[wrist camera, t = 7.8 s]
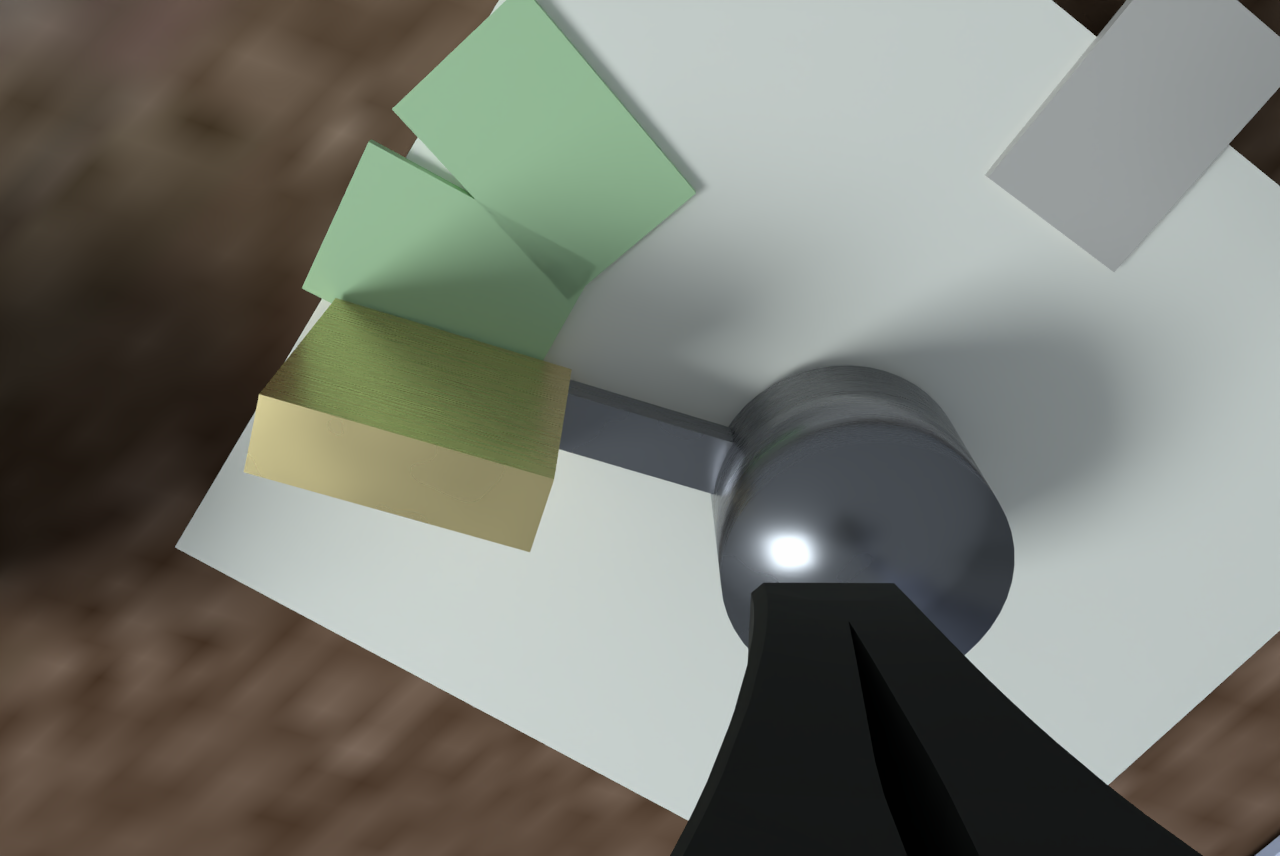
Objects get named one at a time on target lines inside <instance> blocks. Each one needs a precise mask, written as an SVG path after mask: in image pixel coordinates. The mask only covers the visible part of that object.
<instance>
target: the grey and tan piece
mask: <svg viewBox="0 0 1280 856" xmlns="http://www.w3.org/2000/svg"><path fill="white" fill-rule="evenodd" d="M571 371H572V369H569V368H566V367H562V366H559V365H556V364H552V363H549V362H546V361H543V360H539V359H536V358H533V357H529V356H526V355H523V354H519V353H516V352H513V351H509V350H506V349H503V348H500V347H496V346H493V345H490V344H486V343H483V342H480V341H476V340H473V339H470V338H466V337H463V336H460V335H457V334H453V333H450V332H447V331H443V330H440V329H437V328H433V327H430V326H427V325H423V324H420V323H417V322H414V321H410V320H407V319H404V318H400V317H397V316H394V315H390V314H387V313H384V312H380V311H377V310H374V309H371V308H367V307H364V306H361V305H357V304H354V303H351V302H347V301H344V300H341V299H337V298H335V300H334V301H333V302H332V303H331V305H330V306H329V307H328V308H327V310H326V311H325V312H324V313H323V315H322V316H321V317H320V318H319V320H318V321H317V322H316V323H315V325H314V326H313V327H312V328H311V330H310V331H309V332H308V334H307V335H306V336H305V337H304V339H303V340H302V341H301V342H300V344H299V345H298V346H297V347H296V349H295V350H294V351H293V352H292V354H291V355H290V356H289V357H288V359H287V360H286V361H285V362H284V364H283V365H282V366H281V367H280V369H279V370H278V371H277V372H276V374H275V375H274V376H273V377H272V379H271V380H270V381H269V382H268V384H267V385H266V386H265V388H264V389H263V390H262V391H261V393H260V394H259V398H258V403H257V408H256V413H255V418H254V423H253V428H252V433H251V438H250V443H249V448H248V453H247V458H246V463H245V468H244V473H248V474H252V475H255V476H259V477H262V478H266V479H270V480H273V481H277V482H280V483H284V484H287V485H291V486H295V487H298V488H302V489H305V490H309V491H312V492H316V493H320V494H323V495H327V496H330V497H334V498H337V499H341V500H345V501H348V502H352V503H355V504H359V505H363V506H366V507H370V508H373V509H377V510H380V511H384V512H388V513H391V514H395V515H398V516H402V517H405V518H409V519H413V520H416V521H420V522H423V523H427V524H430V525H434V526H438V527H441V528H445V529H448V530H452V531H455V532H459V533H463V534H466V535H470V536H473V537H477V538H481V539H484V540H488V541H491V542H495V543H498V544H502V545H506V546H509V547H513V548H516V549H520V550H523V551H527V552H530V551H531V548H532V545H533V542H534V539H535V536H536V533H537V530H538V527H539V524H540V521H541V518H542V515H543V512H544V509H545V506H546V503H547V500H548V497H549V494H550V491H551V488H552V485H553V481H554V477H555V471H556V465H557V459H558V452H559V449H560V450H563V451H567V452H570V453H574V454H577V455H580V456H584V457H587V458H591V459H594V460H598V461H601V462H604V463H608V464H611V465H615V466H618V467H621V468H625V469H628V470H632V471H635V472H639V473H642V474H645V475H649V476H652V477H656V478H659V479H662V480H666V481H669V482H673V483H676V484H680V485H683V486H686V487H690V488H693V489H697V490H700V491H703V492H707V493H710V494H711V501H712V510H713V519H714V528H715V536H716V545H717V554H718V563H719V572H720V581H721V589H722V596H723V602H724V605H725V608H726V612H727V615H728V617H729V619H730V622H731V624H732V626H733V628H734V630H735V631H736V633H737V634H738V636H739V637H740V639H741V640H742V642H743V643H744V644H745V645H746V647H747V648H748V644H749V623H750V602H751V593H752V592H753V591H754V590H755V589H756V588H758V587H759V586H760V585H761V584H763V583H894V584H895V585H896V586H897V587H898V588H899V589H900V590H901V591H902V592H903V593H904V594H905V595H906V596H907V597H908V598H909V599H910V600H911V601H912V602H913V603H914V604H915V605H916V606H917V607H918V608H919V609H920V610H921V611H922V612H923V613H924V614H925V615H926V616H927V617H928V618H929V619H930V621H931V622H932V623H933V624H934V625H935V626H936V627H937V628H938V629H939V630H940V631H941V632H942V633H943V634H944V635H945V636H946V637H947V638H948V639H949V640H950V641H951V642H952V643H953V644H954V645H955V646H956V647H957V648H958V649H959V650H960V651H961V652H962V653H963V654H964V655H965V654H967V653H968V652H969V651H970V650H971V649H972V648H973V647H974V646H975V645H976V644H977V643H978V642H979V641H980V640H981V639H982V638H983V636H984V635H985V634H986V633H987V632H988V630H989V629H990V628H991V627H992V625H993V623H994V622H995V620H996V619H997V617H998V616H999V614H1000V612H1001V610H1002V608H1003V606H1004V604H1005V601H1006V599H1007V597H1008V593H1009V590H1010V587H1011V584H1012V579H1013V572H1014V544H1013V537H1012V532H1011V529H1010V526H1009V523H1008V520H1007V517H1006V515H1005V513H1004V511H1003V509H1002V507H1001V506H1000V504H999V502H998V500H997V498H996V497H995V495H994V493H993V492H992V490H991V488H990V487H989V485H988V483H987V482H986V480H985V478H984V477H983V475H982V473H981V472H980V470H979V468H978V467H977V465H976V463H975V462H974V460H973V458H972V457H971V455H970V453H969V452H968V450H967V448H966V447H965V445H964V443H963V442H962V440H961V438H960V437H959V435H958V433H957V431H956V430H955V428H954V426H953V425H952V423H951V421H950V420H949V418H948V417H947V415H946V414H945V413H944V411H943V410H942V409H941V407H940V406H939V405H938V404H937V403H936V402H935V401H934V400H933V399H932V398H931V397H930V396H929V395H928V394H927V393H926V392H924V391H923V390H922V389H920V388H919V387H918V386H916V385H915V384H913V383H911V382H909V381H907V380H906V379H904V378H902V377H899V376H897V375H894V374H892V373H889V372H887V371H883V370H878V369H874V368H870V367H862V366H853V365H849V366H829V367H821V368H816V369H812V370H808V371H804V372H801V373H798V374H795V375H793V376H790V377H788V378H785V379H783V380H781V381H780V382H778V383H776V384H774V385H772V386H770V387H769V388H767V389H766V390H764V391H763V392H761V393H760V394H759V395H757V396H756V397H755V398H754V399H752V400H751V401H750V402H749V403H748V404H747V405H746V406H745V407H744V408H743V409H742V410H741V411H740V412H739V413H738V415H737V416H736V417H735V418H734V419H733V421H732V422H731V424H730V425H729V427H727V426H723V425H720V424H717V423H713V422H710V421H707V420H703V419H700V418H697V417H693V416H690V415H687V414H683V413H680V412H677V411H673V410H670V409H667V408H663V407H660V406H657V405H654V404H650V403H647V402H644V401H640V400H637V399H634V398H630V397H627V396H624V395H620V394H617V393H614V392H610V391H607V390H604V389H600V388H597V387H594V386H590V385H587V384H584V383H580V382H577V381H574V380H570V377H571Z"/></svg>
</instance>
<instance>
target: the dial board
mask: <svg viewBox="0 0 1280 856" xmlns="http://www.w3.org/2000/svg"><path fill="white" fill-rule="evenodd" d="M1279 87H1280V37H1279V36H1278V35H1277V34H1276V33H1274V32H1273V31H1272V30H1271V29H1270V28H1269V27H1268V26H1266V25H1265V24H1264V23H1263V22H1262V21H1261V20H1259V19H1258V18H1257V17H1256V16H1255V15H1254V14H1252V13H1251V12H1250V11H1249V10H1248V9H1247V8H1245V7H1244V6H1243V5H1242V4H1241V3H1240V2H1238V1H1237V0H1126V1H1125V3H1124V4H1123V5H1122V6H1121V8H1120V9H1119V10H1118V11H1117V13H1116V14H1115V15H1114V16H1113V17H1112V19H1111V20H1110V21H1109V22H1108V24H1107V25H1106V26H1105V27H1104V29H1103V30H1102V31H1101V32H1100V33H1099V35H1098V36H1097V37H1096V36H1095V35H1094V34H1093V33H1091V32H1090V31H1089V30H1088V29H1086V28H1085V27H1084V26H1083V25H1082V24H1080V23H1079V22H1078V21H1077V20H1075V19H1074V18H1073V17H1072V16H1071V15H1069V14H1068V13H1067V12H1066V11H1064V10H1063V9H1062V8H1061V7H1060V6H1058V5H1057V4H1056V3H1055V2H1053V1H1052V0H499V1H498V3H497V5H496V6H495V8H494V10H493V11H492V13H491V15H490V16H489V17H488V18H487V19H486V20H485V21H484V22H483V23H482V24H481V25H480V26H479V27H478V28H477V29H476V30H474V31H473V32H472V33H471V34H470V35H469V36H468V37H467V38H466V39H465V40H464V41H463V42H462V43H461V44H460V45H459V46H458V47H457V48H456V49H455V50H454V51H452V52H451V53H450V54H449V55H448V56H447V57H446V58H445V59H444V60H443V61H442V62H441V63H440V64H439V65H438V66H437V67H436V68H435V69H434V70H433V71H432V72H430V73H429V74H428V75H427V76H426V77H425V78H424V79H423V80H422V81H421V82H420V83H419V84H418V85H417V86H416V87H415V88H414V89H413V90H412V91H411V92H410V93H408V94H407V95H406V96H405V97H404V98H403V99H402V100H401V101H400V102H399V103H398V104H397V105H396V106H395V107H394V108H393V109H392V110H393V111H394V112H395V113H396V114H397V115H398V116H399V117H400V118H401V119H402V121H403V122H404V123H405V124H406V125H407V126H408V127H409V128H410V129H411V130H412V131H413V132H414V134H415V135H416V136H417V137H418V138H417V140H416V141H415V143H414V145H413V146H412V148H411V150H410V151H409V153H408V155H407V156H406V158H405V157H403V156H401V155H399V154H397V153H396V152H394V151H392V150H390V149H388V148H386V147H385V146H383V145H381V144H379V143H377V142H375V141H374V140H372V139H371V140H370V141H369V142H368V144H367V146H366V149H365V151H364V153H363V155H362V157H361V160H360V162H359V164H358V166H357V168H356V171H355V173H354V175H353V177H352V179H351V181H350V184H349V186H348V188H347V190H346V192H345V195H344V197H343V199H342V201H341V203H340V206H339V208H338V210H337V212H336V214H335V217H334V219H333V221H332V223H331V225H330V228H329V230H328V232H327V234H326V236H325V238H324V241H323V243H322V245H321V247H320V249H319V252H318V254H317V256H316V258H315V260H314V263H313V265H312V267H311V269H310V271H309V274H308V276H307V278H306V280H305V282H304V285H303V287H302V289H304V290H306V291H308V292H310V293H312V294H314V295H316V296H318V297H320V298H322V300H321V302H320V303H319V305H318V307H317V308H316V310H315V312H314V313H313V315H312V317H311V318H310V320H309V322H308V323H307V325H306V327H305V329H304V330H303V332H302V334H301V335H300V337H299V339H298V340H297V342H296V344H295V345H294V347H293V349H292V350H291V352H290V354H289V355H288V357H289V356H290V355H291V354H292V352H293V351H294V350H295V349H296V347H297V346H298V345H299V344H300V342H301V341H302V340H303V339H304V337H305V336H306V335H307V334H308V332H309V331H310V330H311V328H312V327H313V326H314V325H315V323H316V322H317V321H318V320H319V318H320V317H321V316H322V315H323V313H324V312H325V311H326V310H327V308H328V307H329V306H330V305H331V303H332V302H333V301H334V300H335V298H337V299H341V300H344V301H347V302H351V303H354V304H357V305H361V306H364V307H367V308H371V309H374V310H377V311H380V312H384V313H387V314H390V315H394V316H397V317H400V318H404V319H407V320H410V321H414V322H417V323H420V324H423V325H427V326H430V327H433V328H437V329H440V330H443V331H447V332H450V333H453V334H457V335H460V336H463V337H466V338H470V339H473V340H476V341H480V342H483V343H486V344H490V345H493V346H496V347H500V348H503V349H506V350H509V351H513V352H516V353H519V354H523V355H526V356H529V357H533V358H536V359H539V360H543V361H546V362H549V363H552V364H556V365H559V366H562V367H566V368H569V369H572V371H571V377H570V380H574V381H577V382H580V383H584V384H587V385H590V386H594V387H597V388H600V389H604V390H607V391H610V392H614V393H617V394H620V395H624V396H627V397H630V398H634V399H637V400H640V401H644V402H647V403H650V404H654V405H657V406H660V407H663V408H667V409H670V410H673V411H677V412H680V413H683V414H687V415H690V416H693V417H697V418H700V419H703V420H707V421H710V422H713V423H717V424H720V425H723V426H727V427H729V425H730V424H731V422H732V421H733V419H734V418H735V417H736V416H737V415H738V413H739V412H740V411H741V410H742V409H743V408H744V407H745V406H746V405H747V404H748V403H749V402H750V401H751V400H752V399H754V398H755V397H756V396H757V395H759V394H760V393H761V392H763V391H764V390H766V389H767V388H769V387H770V386H772V385H774V384H776V383H778V382H780V381H781V380H783V379H785V378H788V377H790V376H793V375H795V374H798V373H801V372H804V371H808V370H812V369H816V368H821V367H829V366H849V365H853V366H862V367H870V368H874V369H878V370H883V371H887V372H889V373H892V374H894V375H897V376H899V377H902V378H904V379H906V380H907V381H909V382H911V383H913V384H915V385H916V386H918V387H919V388H920V389H922V390H923V391H924V392H926V393H927V394H928V395H929V396H930V397H931V398H932V399H933V400H934V401H935V402H936V403H937V404H938V405H939V406H940V407H941V409H942V410H943V411H944V413H945V414H946V415H947V417H948V418H949V420H950V421H951V423H952V425H953V426H954V428H955V430H956V431H957V433H958V435H959V437H960V438H961V440H962V442H963V443H964V445H965V447H966V448H967V450H968V452H969V453H970V455H971V457H972V458H973V460H974V462H975V463H976V465H977V467H978V468H979V470H980V472H981V473H982V475H983V477H984V478H985V480H986V482H987V483H988V485H989V487H990V488H991V490H992V492H993V493H994V495H995V497H996V498H997V500H998V502H999V504H1000V506H1001V507H1002V509H1003V511H1004V513H1005V515H1006V517H1007V520H1008V523H1009V526H1010V529H1011V532H1012V537H1013V544H1014V572H1013V579H1012V584H1011V587H1010V590H1009V593H1008V597H1007V599H1006V601H1005V604H1004V606H1003V608H1002V610H1001V612H1000V614H999V616H998V617H997V619H996V620H995V622H994V623H993V625H992V627H991V628H990V629H989V630H988V632H987V633H986V634H985V635H984V636H983V638H982V639H981V640H980V641H979V642H978V643H977V644H976V645H975V646H974V647H973V648H972V649H971V650H970V651H969V652H968V653H967V654H965V656H966V657H967V659H968V660H969V661H970V662H971V663H972V664H973V665H974V666H975V667H976V668H977V669H978V670H979V671H980V672H981V673H983V674H984V675H985V676H986V677H987V678H988V679H989V680H990V681H991V682H992V683H993V684H994V685H995V686H996V687H997V688H998V689H999V690H1000V691H1001V692H1002V693H1003V694H1004V695H1005V696H1006V697H1007V698H1009V699H1010V700H1011V701H1012V702H1013V703H1014V704H1015V705H1016V706H1017V707H1018V708H1019V709H1020V710H1021V711H1022V712H1024V713H1025V714H1026V715H1027V716H1028V717H1029V718H1030V719H1031V720H1032V721H1033V722H1035V723H1036V724H1037V725H1038V726H1039V727H1040V728H1041V729H1042V730H1043V731H1045V732H1046V733H1047V734H1048V735H1049V736H1050V737H1051V738H1052V739H1054V740H1055V741H1056V742H1057V743H1058V744H1059V745H1060V746H1062V747H1063V748H1064V749H1065V750H1066V751H1068V752H1069V753H1070V754H1071V755H1072V756H1074V757H1075V758H1076V759H1077V760H1078V761H1080V762H1081V763H1082V764H1083V765H1084V766H1086V767H1087V768H1088V769H1089V770H1090V771H1092V772H1093V773H1094V774H1095V775H1096V776H1097V777H1099V778H1100V779H1101V780H1102V781H1103V782H1105V783H1106V784H1107V785H1109V784H1110V783H1111V782H1112V781H1113V780H1114V779H1115V778H1116V777H1117V776H1119V775H1120V774H1121V773H1122V772H1123V771H1124V770H1125V769H1126V768H1127V767H1129V766H1130V765H1131V764H1132V763H1133V762H1134V761H1135V760H1136V759H1137V758H1139V757H1140V756H1141V755H1142V754H1143V753H1144V752H1145V751H1146V750H1147V749H1149V748H1150V747H1151V746H1152V745H1153V744H1154V743H1155V742H1156V741H1157V740H1159V739H1160V738H1161V737H1162V736H1163V735H1164V734H1165V733H1166V732H1167V731H1169V730H1170V729H1171V728H1172V727H1173V726H1174V725H1175V724H1176V723H1177V722H1179V721H1180V720H1181V719H1182V718H1183V717H1184V716H1185V715H1186V714H1187V713H1188V712H1190V711H1191V710H1192V709H1193V708H1194V707H1195V706H1196V705H1197V704H1198V703H1200V702H1201V701H1202V700H1203V699H1204V698H1205V697H1206V696H1207V695H1208V694H1210V693H1211V692H1212V691H1213V690H1214V689H1215V688H1216V687H1217V686H1218V685H1220V684H1221V683H1222V682H1223V681H1224V680H1225V679H1226V678H1227V677H1228V676H1230V675H1231V674H1232V673H1233V672H1234V671H1235V670H1236V669H1237V668H1238V667H1240V666H1241V665H1242V664H1243V663H1244V662H1245V661H1246V660H1247V659H1248V658H1250V657H1251V656H1252V655H1253V654H1254V653H1255V652H1256V651H1257V650H1258V649H1260V648H1261V647H1262V646H1263V645H1264V644H1265V643H1266V642H1267V641H1268V640H1270V639H1271V638H1272V637H1273V636H1274V635H1275V634H1276V633H1277V632H1278V631H1280V186H1279V185H1278V184H1276V183H1275V182H1274V181H1273V180H1272V179H1270V178H1269V177H1268V176H1267V175H1265V174H1264V173H1263V172H1262V171H1261V170H1259V169H1258V168H1257V167H1256V166H1254V165H1253V164H1252V163H1251V162H1250V161H1248V160H1247V159H1246V158H1245V157H1243V156H1242V155H1241V154H1240V153H1238V152H1237V151H1236V150H1235V149H1234V148H1232V147H1231V146H1230V145H1229V143H1230V142H1231V141H1232V140H1233V139H1234V138H1235V137H1236V135H1237V134H1238V133H1239V132H1240V131H1241V130H1242V129H1243V128H1244V126H1245V125H1246V124H1247V123H1248V122H1249V121H1250V120H1251V119H1252V118H1253V116H1254V115H1255V114H1256V113H1257V112H1258V111H1259V110H1260V109H1261V107H1262V106H1263V105H1264V104H1265V103H1266V102H1267V101H1268V100H1269V98H1270V97H1271V96H1272V95H1273V94H1274V93H1275V92H1276V91H1277V90H1278V88H1279ZM288 357H287V359H288ZM287 359H286V360H287ZM255 413H256V411H255ZM255 413H254V415H253V416H252V418H251V420H250V421H249V423H248V425H247V426H246V428H245V430H244V431H243V433H242V435H241V436H240V438H239V440H238V442H237V443H236V445H235V447H234V448H233V450H232V452H231V453H230V455H229V457H228V458H227V460H226V462H225V463H224V465H223V467H222V469H221V470H220V472H219V474H218V475H217V477H216V479H215V480H214V482H213V484H212V485H211V487H210V489H209V490H208V492H207V494H206V495H205V497H204V499H203V501H202V502H201V504H200V506H199V507H198V509H197V511H196V512H195V514H194V516H193V517H192V519H191V521H190V522H189V524H188V526H187V528H186V529H185V531H184V533H183V534H182V536H181V538H180V539H179V541H178V543H177V544H176V546H175V548H177V549H179V550H181V551H183V552H185V553H187V554H188V555H190V556H192V557H194V558H196V559H198V560H200V561H202V562H203V563H205V564H207V565H209V566H211V567H213V568H215V569H217V570H218V571H220V572H222V573H224V574H226V575H228V576H230V577H232V578H234V579H235V580H237V581H239V582H241V583H243V584H245V585H247V586H249V587H250V588H252V589H254V590H256V591H258V592H260V593H262V594H264V595H265V596H267V597H269V598H271V599H273V600H275V601H277V602H279V603H280V604H282V605H284V606H286V607H288V608H290V609H292V610H294V611H296V612H297V613H299V614H301V615H303V616H305V617H307V618H309V619H311V620H312V621H314V622H316V623H318V624H320V625H322V626H324V627H326V628H327V629H329V630H331V631H333V632H335V633H337V634H339V635H341V636H343V637H344V638H346V639H348V640H350V641H352V642H354V643H356V644H358V645H359V646H361V647H363V648H365V649H367V650H369V651H371V652H373V653H374V654H376V655H378V656H380V657H382V658H384V659H386V660H388V661H389V662H391V663H393V664H395V665H397V666H399V667H401V668H403V669H405V670H406V671H408V672H410V673H412V674H414V675H416V676H418V677H420V678H421V679H423V680H425V681H427V682H429V683H431V684H433V685H435V686H436V687H438V688H440V689H442V690H444V691H446V692H448V693H450V694H452V695H453V696H455V697H457V698H459V699H461V700H463V701H465V702H467V703H468V704H470V705H472V706H474V707H476V708H478V709H480V710H482V711H483V712H485V713H487V714H489V715H491V716H493V717H495V718H497V719H499V720H500V721H502V722H504V723H506V724H508V725H510V726H512V727H514V728H515V729H517V730H519V731H521V732H523V733H525V734H527V735H529V736H530V737H532V738H534V739H536V740H538V741H540V742H542V743H544V744H545V745H547V746H549V747H551V748H553V749H555V750H557V751H559V752H561V753H562V754H564V755H566V756H568V757H570V758H572V759H574V760H576V761H577V762H579V763H581V764H583V765H585V766H587V767H589V768H591V769H592V770H594V771H596V772H598V773H600V774H602V775H604V776H606V777H608V778H609V779H611V780H613V781H615V782H617V783H619V784H621V785H623V786H624V787H626V788H628V789H630V790H632V791H634V792H636V793H638V794H639V795H641V796H643V797H645V798H647V799H649V800H651V801H653V802H655V803H656V804H658V805H660V806H662V807H664V808H666V809H668V810H670V811H671V812H673V813H675V814H677V815H679V816H681V817H683V818H685V819H686V820H688V821H689V819H690V817H691V815H692V813H693V811H694V809H695V806H696V804H697V802H698V800H699V798H700V796H701V793H702V791H703V789H704V787H705V785H706V782H707V780H708V778H709V775H710V773H711V770H712V768H713V765H714V763H715V760H716V758H717V755H718V753H719V750H720V747H721V745H722V742H723V740H724V737H725V735H726V732H727V730H728V727H729V725H730V722H731V719H732V716H733V713H734V710H735V706H736V703H737V699H738V696H739V692H740V689H741V685H742V682H743V678H744V675H745V671H746V668H747V664H748V648H747V647H746V645H745V644H744V643H743V642H742V640H741V639H740V637H739V636H738V634H737V633H736V631H735V630H734V628H733V626H732V624H731V622H730V619H729V617H728V615H727V612H726V608H725V605H724V602H723V596H722V589H721V581H720V572H719V563H718V554H717V545H716V536H715V528H714V519H713V510H712V501H711V494H710V493H707V492H703V491H700V490H697V489H693V488H690V487H686V486H683V485H680V484H676V483H673V482H669V481H666V480H662V479H659V478H656V477H652V476H649V475H645V474H642V473H639V472H635V471H632V470H628V469H625V468H621V467H618V466H615V465H611V464H608V463H604V462H601V461H598V460H594V459H591V458H587V457H584V456H580V455H577V454H574V453H570V452H567V451H563V450H560V449H559V452H558V459H557V465H556V471H555V477H554V481H553V485H552V488H551V491H550V494H549V497H548V500H547V503H546V506H545V509H544V512H543V515H542V518H541V521H540V524H539V527H538V530H537V533H536V536H535V539H534V542H533V545H532V548H531V551H530V552H527V551H523V550H520V549H516V548H513V547H509V546H506V545H502V544H498V543H495V542H491V541H488V540H484V539H481V538H477V537H473V536H470V535H466V534H463V533H459V532H455V531H452V530H448V529H445V528H441V527H438V526H434V525H430V524H427V523H423V522H420V521H416V520H413V519H409V518H405V517H402V516H398V515H395V514H391V513H388V512H384V511H380V510H377V509H373V508H370V507H366V506H363V505H359V504H355V503H352V502H348V501H345V500H341V499H337V498H334V497H330V496H327V495H323V494H320V493H316V492H312V491H309V490H305V489H302V488H298V487H295V486H291V485H287V484H284V483H280V482H277V481H273V480H270V479H266V478H262V477H259V476H255V475H252V474H248V473H244V468H245V463H246V458H247V453H248V448H249V443H250V438H251V433H252V428H253V423H254V418H255Z"/></svg>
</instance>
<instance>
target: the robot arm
mask: <svg viewBox="0 0 1280 856" xmlns="http://www.w3.org/2000/svg"><path fill="white" fill-rule="evenodd" d="M670 856H1202V855H1201V854H1200V853H1198V852H1197V851H1195V850H1194V849H1193V848H1191V847H1190V846H1188V845H1187V844H1186V843H1184V842H1183V841H1182V840H1180V839H1179V838H1177V837H1176V836H1175V835H1173V834H1172V833H1170V832H1169V831H1168V830H1166V829H1165V828H1163V827H1162V826H1161V825H1159V824H1158V823H1156V822H1155V821H1154V820H1152V819H1151V818H1150V817H1148V816H1147V815H1145V814H1144V813H1143V812H1142V811H1140V810H1139V809H1138V808H1136V807H1135V806H1134V805H1132V804H1131V803H1130V802H1129V801H1127V800H1126V799H1125V798H1123V797H1122V796H1121V795H1120V794H1118V793H1117V792H1116V791H1114V790H1113V789H1112V788H1111V787H1109V786H1108V785H1107V784H1106V783H1105V782H1103V781H1102V780H1101V779H1100V778H1099V777H1097V776H1096V775H1095V774H1094V773H1093V772H1092V771H1090V770H1089V769H1088V768H1087V767H1086V766H1084V765H1083V764H1082V763H1081V762H1080V761H1078V760H1077V759H1076V758H1075V757H1074V756H1072V755H1071V754H1070V753H1069V752H1068V751H1066V750H1065V749H1064V748H1063V747H1062V746H1060V745H1059V744H1058V743H1057V742H1056V741H1055V740H1054V739H1052V738H1051V737H1050V736H1049V735H1048V734H1047V733H1046V732H1045V731H1043V730H1042V729H1041V728H1040V727H1039V726H1038V725H1037V724H1036V723H1035V722H1033V721H1032V720H1031V719H1030V718H1029V717H1028V716H1027V715H1026V714H1025V713H1024V712H1022V711H1021V710H1020V709H1019V708H1018V707H1017V706H1016V705H1015V704H1014V703H1013V702H1012V701H1011V700H1010V699H1009V698H1007V697H1006V696H1005V695H1004V694H1003V693H1002V692H1001V691H1000V690H999V689H998V688H997V687H996V686H995V685H994V684H993V683H992V682H991V681H990V680H989V679H988V678H987V677H986V676H985V675H984V674H983V673H981V672H980V671H979V670H978V669H977V668H976V667H975V666H974V665H973V664H972V663H971V662H970V661H969V660H968V659H967V657H966V656H965V655H964V654H963V653H962V652H961V651H960V650H959V649H958V648H957V647H956V646H955V645H954V644H953V643H952V642H951V641H950V640H949V639H948V638H947V637H946V636H945V635H944V634H943V633H942V632H941V631H940V630H939V629H938V628H937V627H936V626H935V625H934V624H933V623H932V622H931V621H930V619H929V618H928V617H927V616H926V615H925V614H924V613H923V612H922V611H921V610H920V609H919V608H918V607H917V606H916V605H915V604H914V603H913V602H912V601H911V600H910V599H909V598H908V597H907V596H906V595H905V594H904V593H903V592H902V591H901V590H900V589H899V588H898V587H897V586H896V585H895V584H894V583H763V584H761V585H760V586H759V587H758V588H756V589H755V590H754V591H753V592H752V593H751V602H750V623H749V644H748V664H747V668H746V671H745V675H744V678H743V682H742V685H741V689H740V692H739V696H738V699H737V703H736V706H735V710H734V713H733V716H732V719H731V722H730V725H729V727H728V730H727V732H726V735H725V737H724V740H723V742H722V745H721V747H720V750H719V753H718V755H717V758H716V760H715V763H714V765H713V768H712V770H711V773H710V775H709V778H708V780H707V782H706V785H705V787H704V789H703V791H702V793H701V796H700V798H699V800H698V802H697V804H696V806H695V809H694V811H693V813H692V815H691V817H690V819H689V821H688V823H687V825H686V827H685V829H684V831H683V832H682V834H681V836H680V838H679V840H678V842H677V844H676V846H675V848H674V850H673V851H672V853H671V855H670ZM1255 856H1280V835H1279V836H1278V837H1277V838H1276V839H1274V840H1273V841H1272V842H1271V843H1269V844H1268V845H1267V846H1266V847H1265V848H1263V849H1262V850H1261V851H1260V852H1258V853H1257V854H1256V855H1255Z"/></svg>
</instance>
